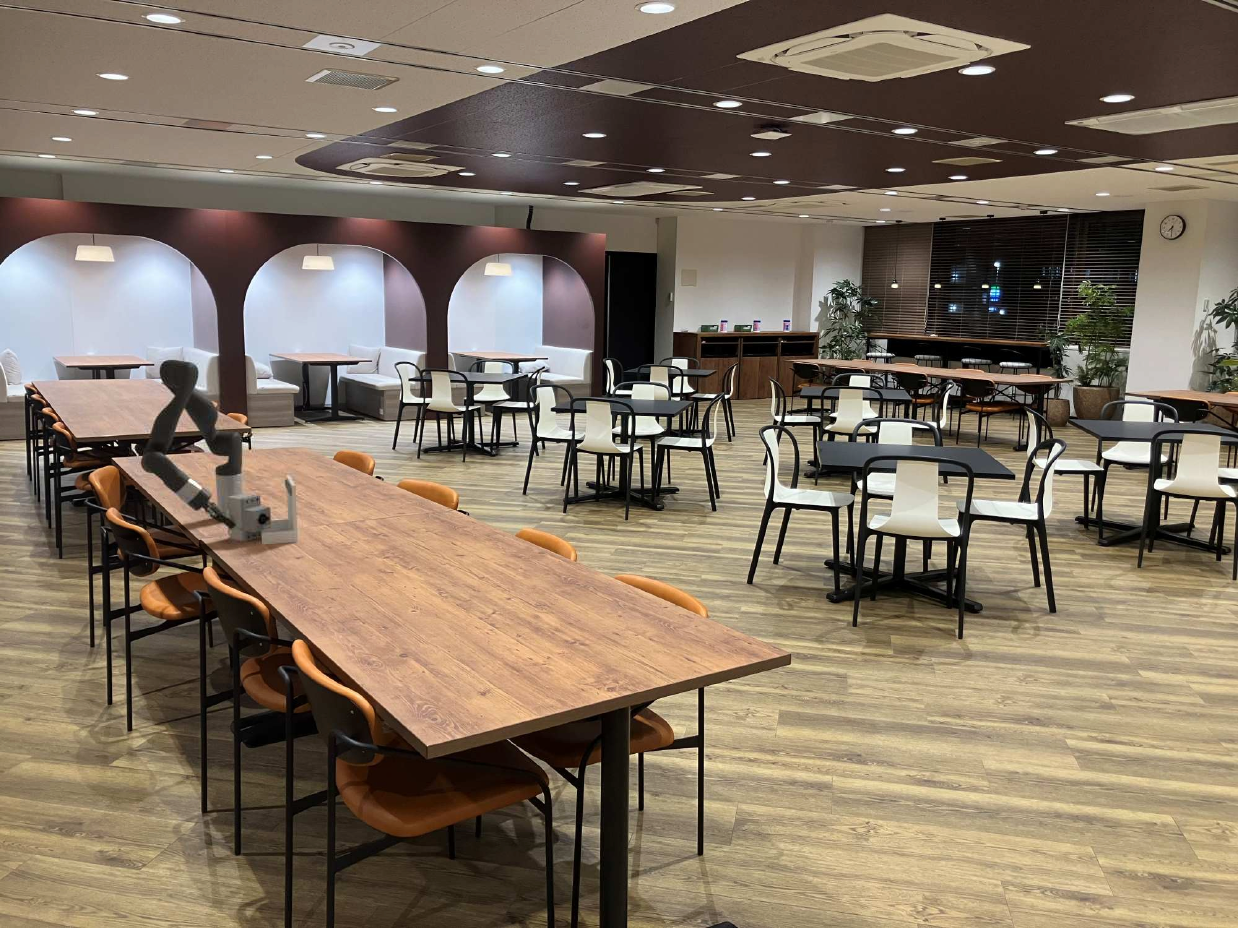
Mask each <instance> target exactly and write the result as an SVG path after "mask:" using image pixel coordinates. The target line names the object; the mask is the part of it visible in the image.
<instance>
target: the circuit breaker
mask: <svg viewBox="0 0 1238 928" xmlns="http://www.w3.org/2000/svg"><path fill="white" fill-rule="evenodd" d="M227 498H228V501H227V509H229V518H230V520H231V521H233V522H234V523H235V526H234V527H233V528H232V529H230V528H229V527H228V526H227V531H228V532H227V534H228V536H229V537H228V539H229V540H230V539H231V540H236V541H242V542H248V541H251V540H255V539H259V538H262V534H261V533H263V532H262V531H261V530H265V529H268V528H271V520H272V519H271V517H272V516H271V515H272V514H271V507H270V506H264V505H262V504H261V503H262V502H261V495H260V494H252V493H244V492H243V493H242V494H238V495H233V496H229V497H227ZM228 505H230V507H229V506H228Z"/></svg>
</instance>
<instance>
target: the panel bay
mask: <svg viewBox="0 0 1238 928" xmlns="http://www.w3.org/2000/svg"><path fill="white" fill-rule="evenodd" d="M285 478H286V479H284V487H285V489H286V499H287V500H286V501H287V502H286V503H287V504H286V505H287V507H286V508H287V518H280V519H279V518H278V519H271V528H268V529H265V530H261V531H262V533H261V534H262V537H261V545H273V544H275V545H276V544H284V543H285V544H286V543H298V542H299V541H298V539H299V538H298V516H297V515H298V514H297V513H298V511H297V510H298V509H297V493H296V492H297V490H296V483H295V482H294V480H293V478H292V477H291V476H290V475H285Z"/></svg>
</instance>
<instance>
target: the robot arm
mask: <svg viewBox="0 0 1238 928" xmlns="http://www.w3.org/2000/svg"><path fill="white" fill-rule="evenodd" d="M199 374H200V373H199V368H198V366H197V364H195V363H193V362H190V361H185V360H184V361H183V360H178V359H166V360H164V361H163V362H161V364H160V366H159V377H160V379H161V381H162V383H163V384H164V386H165V387H166V388H167V389H168V390H169V391H170V392H171V394H173V395H174V396H173V398H172V399H171V400H170V401H169V403H168V404H167V405H165V407H164V408H163V409H162V410H161V411H160V412H159V413H158V415H157V416H156V417H155V419H154V422H153V424H152V428H151V431H150V434H149V439H148V442H147V444H146V447H145V448H144V451H143V452H142V453H143V454H142V456H141V459H140V460H141V461H140V466H141V468H142V470H143V471H144V472H146V473H148V474H153V475H155V476H156V478H158V479H159V480H161V481H162V482H163V485H164V486H166V488H168V489H169V490H171V492H173V493H174V494H175V495H176V496H177V497H178V498H179V499H180V500H181V501H183V502H184V503H186V505H187V506H189V507H190V508H192V510H194V511H195V512H197V511H198V512H199V510H201V509H203V510H204V513H205V514H207V515H208V516H209V517H211V518H212V519H214V520H215V521H217V522H219V523H220V524H224V525H225V526H226V527H227V528H228V527H229V528H230V529H232V528H233V527H234V526H235V523H234V522H233V521H231V520H230V518H229V509H227V501H228V498H227V497H229V496H233V495H238V494H242V493H244V492H243V477H242V476H243V475H242V471H243V470H242V467H243V439H242V437H241V434H240V433H239V432H237V431H236V432H235V431H220V430H217V428H216V427H215V426H216V424H217V421H218V418H219V413H218V412H219V411H218V409H217V407H216V406H215V404H214V401H212V400H211V398H210V397H209V396H208V395H207V394H205V393H204V392H202V391H201V390H199V389H198V388H196V384H197V383H198V378H199ZM184 411H186V413H187V415H188V417H190V419H191V421H192V422H193V423H194V425H195V426H196V427H197V429H198V431H199V432H200V434H201V435H202V437H203V439H204V442H205V444H206V445H207V448H208V449H209V451H210V452H211V453H212V455H214V456H218V457H228V459H227V462H226V463H223V464H219V465H217V466H216V467H215V470H214V471H215V486H216V487H215V489H216V490H215V491H216V502H215V501H212V502H211V501H210V500H211V498H212V496H213V495H212V493H211V492H210V491H208V490H207V489H205V488H204V487H203V486H202V485H201V484H200V483H198V482H197V481H195V480H194V479H193V478H191V477H190V476H189V475H187V474H186V473H185V472H184V471H182V470H180V469H179V468H178V466H176V464H174V462H173V461H172V460H171V459H170V458H168V456H167V452H168V449H169V447H170V446H171V444H172V442H173V440H174V437H175V434H176V429H177V427H178V423H179V420H180V418H181V416H182V413H183V412H184ZM228 506H229V507H230V505H228Z"/></svg>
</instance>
